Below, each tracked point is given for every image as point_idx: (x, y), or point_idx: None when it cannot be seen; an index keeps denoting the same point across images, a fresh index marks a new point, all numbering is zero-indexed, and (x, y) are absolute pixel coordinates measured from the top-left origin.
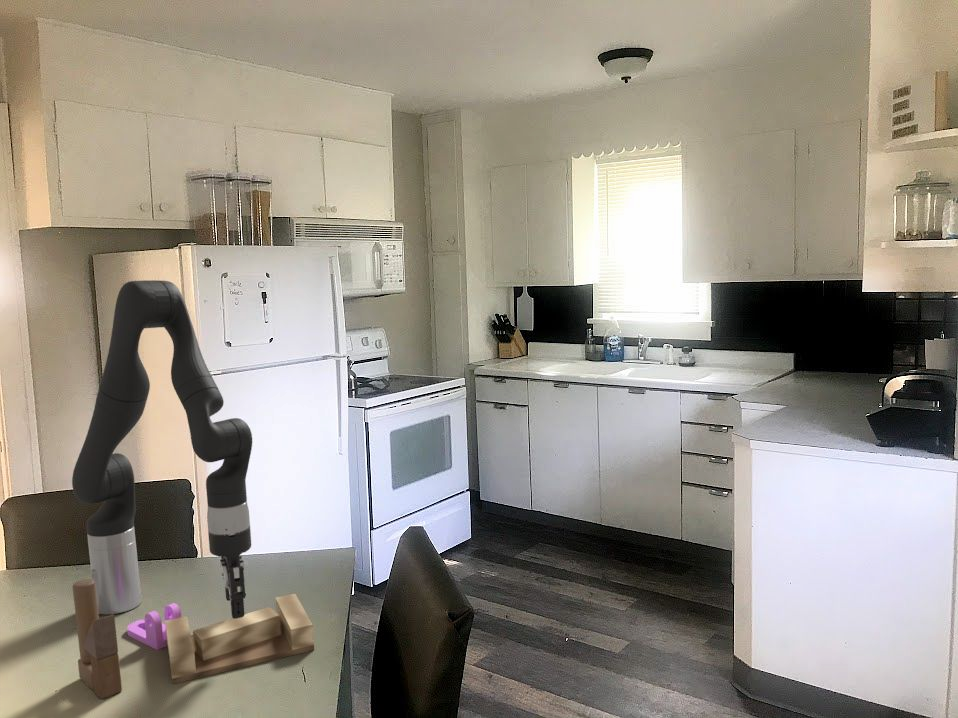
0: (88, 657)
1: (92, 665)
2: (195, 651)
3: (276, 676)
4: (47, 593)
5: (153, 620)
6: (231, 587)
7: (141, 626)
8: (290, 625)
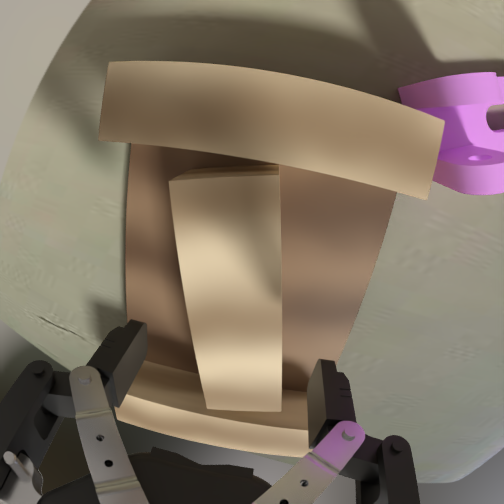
0: None
1: None
2: (268, 165)
3: (67, 290)
4: None
5: (447, 76)
6: (3, 404)
7: None
8: (133, 398)
